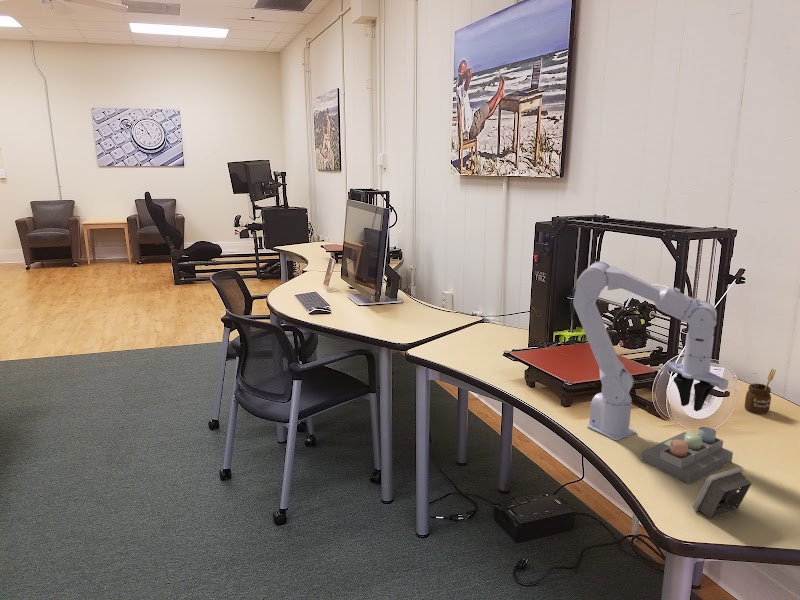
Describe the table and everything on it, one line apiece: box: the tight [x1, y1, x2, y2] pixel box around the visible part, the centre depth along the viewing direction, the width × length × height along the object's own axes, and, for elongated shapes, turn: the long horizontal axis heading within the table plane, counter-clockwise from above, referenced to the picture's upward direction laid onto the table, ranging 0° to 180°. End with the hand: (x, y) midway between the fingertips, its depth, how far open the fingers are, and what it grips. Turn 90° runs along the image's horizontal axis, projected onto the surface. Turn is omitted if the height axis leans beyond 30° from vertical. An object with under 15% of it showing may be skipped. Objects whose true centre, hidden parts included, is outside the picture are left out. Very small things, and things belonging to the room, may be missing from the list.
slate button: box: [697, 426, 717, 443], centre depth 138 cm, size 4×4×2 cm
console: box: [640, 431, 734, 485], centre depth 136 cm, size 12×17×4 cm
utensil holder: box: [744, 368, 776, 415], centre depth 161 cm, size 6×6×12 cm
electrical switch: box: [692, 466, 753, 520], centre depth 117 cm, size 9×5×9 cm, turn 113°
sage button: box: [684, 432, 702, 450], centre depth 135 cm, size 4×4×2 cm
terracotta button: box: [669, 440, 688, 457], centre depth 132 cm, size 4×4×2 cm
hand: (691, 407), depth 141 cm, fingers open, 3 cm apart
